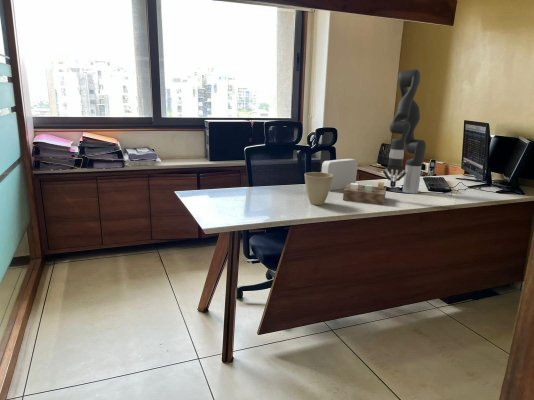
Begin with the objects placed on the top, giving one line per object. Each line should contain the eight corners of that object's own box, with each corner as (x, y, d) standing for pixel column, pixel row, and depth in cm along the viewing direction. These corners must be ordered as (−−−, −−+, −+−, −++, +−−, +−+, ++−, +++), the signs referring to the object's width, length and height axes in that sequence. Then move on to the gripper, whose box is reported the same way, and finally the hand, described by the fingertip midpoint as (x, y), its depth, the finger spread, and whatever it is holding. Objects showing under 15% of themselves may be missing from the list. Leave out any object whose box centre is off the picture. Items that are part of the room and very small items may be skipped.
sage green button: (372, 193, 213) (372, 185, 212) (371, 195, 210) (372, 186, 209) (364, 192, 215) (365, 184, 213) (364, 194, 211) (364, 185, 210)
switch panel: (385, 197, 222) (386, 187, 221) (383, 205, 206) (384, 193, 204) (347, 193, 229) (348, 183, 228) (342, 200, 213) (343, 189, 211)
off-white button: (357, 192, 216) (358, 183, 215) (356, 193, 212) (357, 184, 211) (350, 191, 217) (351, 182, 216) (349, 192, 214) (350, 184, 212)
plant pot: (324, 199, 213) (326, 171, 209) (334, 206, 199) (337, 177, 195) (299, 200, 209) (301, 171, 205) (307, 207, 195) (309, 177, 191)
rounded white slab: (346, 184, 257) (348, 157, 253) (355, 186, 252) (357, 159, 247) (317, 188, 240) (319, 160, 235) (326, 191, 234) (328, 162, 229)
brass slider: (383, 188, 218) (384, 182, 218) (383, 189, 216) (383, 183, 215) (377, 187, 219) (378, 181, 219) (377, 188, 217) (378, 182, 216)
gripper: (408, 157, 212) (404, 187, 216) (384, 155, 216) (380, 185, 221) (408, 159, 205) (404, 190, 210) (383, 157, 209) (380, 187, 214)
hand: (392, 187), depth 215 cm, fingers closed
